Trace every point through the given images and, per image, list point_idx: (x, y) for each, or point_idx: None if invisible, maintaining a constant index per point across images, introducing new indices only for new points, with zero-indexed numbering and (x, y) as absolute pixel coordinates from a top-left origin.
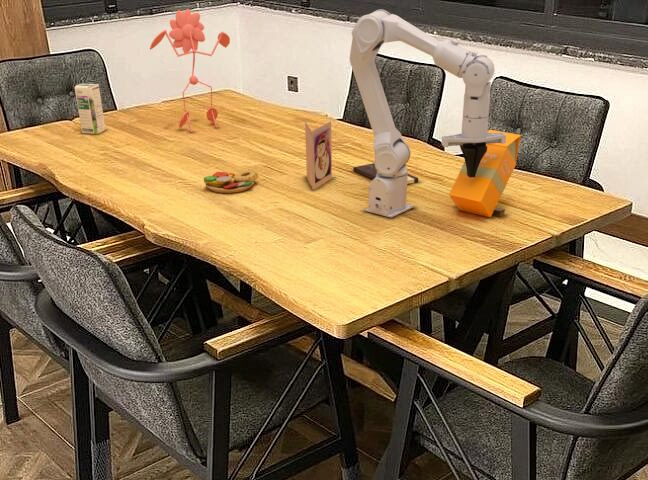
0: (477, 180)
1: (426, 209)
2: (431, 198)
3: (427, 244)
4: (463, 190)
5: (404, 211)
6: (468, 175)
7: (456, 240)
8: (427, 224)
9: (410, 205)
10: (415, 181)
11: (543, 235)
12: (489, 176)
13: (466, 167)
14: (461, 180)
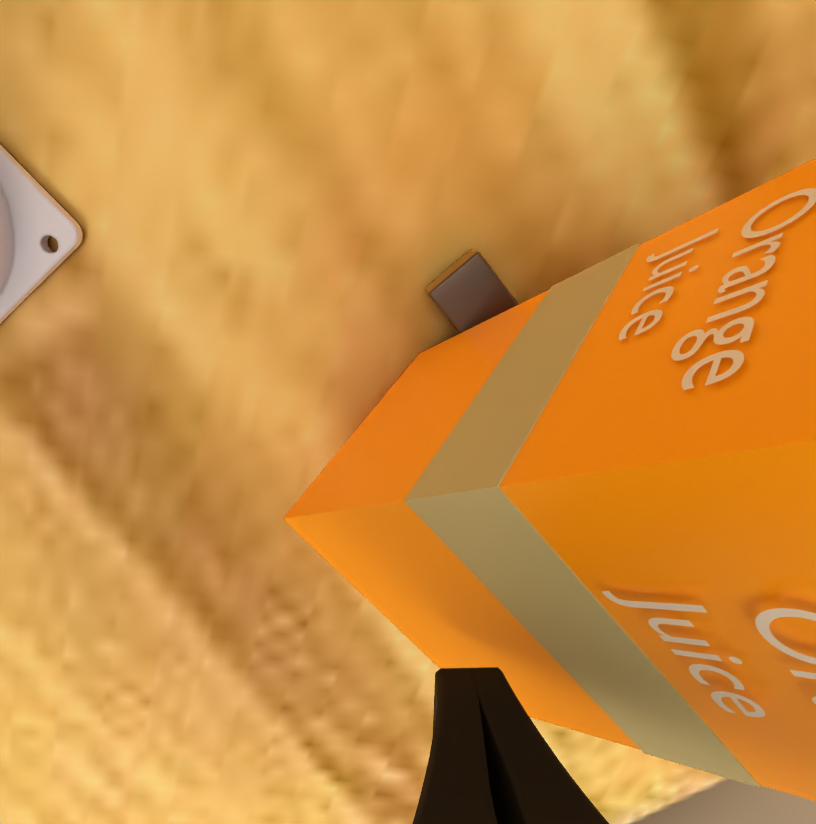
0: (529, 662)
1: (185, 284)
2: (275, 12)
3: (110, 791)
4: (392, 595)
5: (4, 318)
6: (434, 720)
7: (265, 768)
8: (149, 554)
9: (51, 226)
10: None
11: (696, 770)
12: (645, 736)
13: (433, 736)
14: (399, 551)
